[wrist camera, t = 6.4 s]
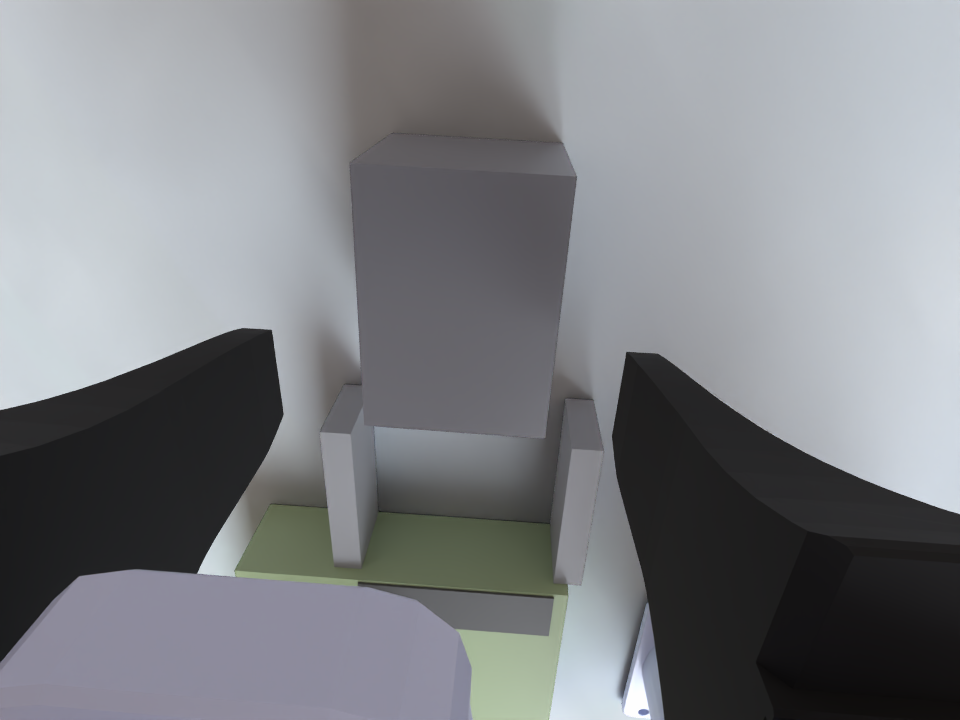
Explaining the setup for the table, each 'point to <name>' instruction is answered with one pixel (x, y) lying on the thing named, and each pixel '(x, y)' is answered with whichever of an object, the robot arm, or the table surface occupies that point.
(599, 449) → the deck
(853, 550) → the robot arm
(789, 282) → the table surface
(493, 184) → the grey block
